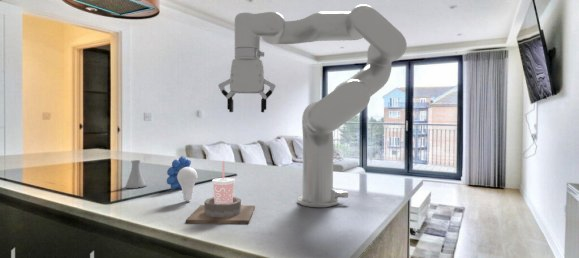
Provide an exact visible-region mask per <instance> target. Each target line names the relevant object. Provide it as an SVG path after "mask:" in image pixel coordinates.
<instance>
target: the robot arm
mask: <svg viewBox="0 0 579 258" xmlns="http://www.w3.org/2000/svg"><path fill="white" fill-rule="evenodd" d="M260 38H261V39H262V40H263V41H264V42H265V43H268V44H269V45H295V44H296V45H297V44H305V43H314V42H324V41H325V42H326V41H329V42H331V41H358V40H361V39H364V40H365V41H366V42H367V43H368V44H369V46H368V48H367V57H366V58H367V61H366V64H365V65H364V67H363V68H361V70H358V71H357V73H356V74H354V75H352V76H350V78H348V79H347V80H345V81H343V82H341V83H339V84H338V85H337V86H336V87H335V88H334V89H333V90H332V91H331V92H329V93H328V94H326V96H324V97H323V98H321V99H320V100H318V101H314V102H312V103H310V104H308V105H307V106H306V107H305V109H304V110H303V113H302V118H301V126H302V194H301V196H298V197H297V204H299V205H302V206H304V207H309V208H310V207H311V208H329V207H334V206H336V205H338V201H339V200H338V199H339V198H342V199H343V198H344V199H347V198H348V197H349V192H348V191H343V190H336V189H335V188H334V149H335V148H334V131H336V130H337V129H339V128H340V127H342V126H343V125H344V124H346V123H348V121H350V120H352V119H353V118H354V117H356V116H357V115H358V114H360V113H361V112H363V111H364V110H365V109H366V107H367V106H368V105H369V103H370V100H371V97H372V96H373V95H375V94H376V93H377V92H379V91H380V90H381V89H382V88H384V86H385V85H386V84H387V82H388V81H389V79H390V76H391V73H392V62H395V61H397V60H399V59H400V58H401V57H403V55H404V54H405V53H406V51H407V40H406V37H405V36H404V34H403V33H402V32H401V31H400V30H398V28H397V27H395V25H393V24H392V23H391V22H390V21H389V20H388V19H387V18H385V17H384V16H383V14H381V13H380V12H379V11H378V10H376V9H375V8H374V7H372V6H370V5H368V4H359V5H357V6H355V7H353V9H351V11H318V12H314V13H312V14H310V15H308V16H306V17H303V18H300V19H297V20H285V18H284V16H283V15H282V14H281V13H279V12H276V11H266V12H259V13H253V12H241V13H240V12H239V13H238V14H236V15H235V18H234V59H232V61H231V66H230V75H229V78H228V79H227V80H225V81H223V82H221V83H219V84H218V89H219V90H220V93H221V94H222V95H223V96H224V97H225V98H226V99H227V102H226V103H227V107H226V109H227V110H229V113H233V112H234V99H233V97H234V96H235V94H259V95H260V96H261V100H260V101H261V102H260V112H261V113H265V111H266V110H267V100H268V98H269V97H270V96H271V95H272V94H273V92H274V90H275V89H276V85H275V83H273V82H270V81H269V80H266V79H265V71H264V65H263V64H264V63H263V60H261V58H262V57H265V52H263V51H261V50H260V45H261V44H260ZM227 86H229V90H230V91H229V92H228V91H227V90H226V89H225V88H226V87H227ZM265 86H268V87H269V89H268V91H267V92H264V91H265Z"/></svg>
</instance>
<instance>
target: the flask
mask: <svg viewBox="0 0 579 258" xmlns="http://www.w3.org/2000/svg"><path fill="white" fill-rule="evenodd" d="M130 163H131V169H130V174H129V176H128V179H127V181H126V185H125V188H127V189H138V187H140V188H145V187H147V183H146V181H145V179H144V176H143V174H142V170H141V166H140V163H141V159H133V160H131V161H130Z"/></svg>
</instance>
